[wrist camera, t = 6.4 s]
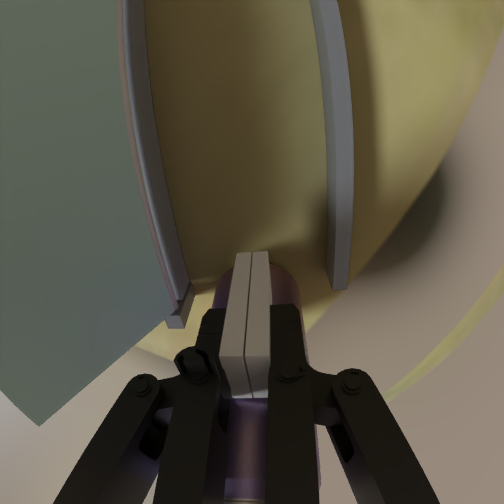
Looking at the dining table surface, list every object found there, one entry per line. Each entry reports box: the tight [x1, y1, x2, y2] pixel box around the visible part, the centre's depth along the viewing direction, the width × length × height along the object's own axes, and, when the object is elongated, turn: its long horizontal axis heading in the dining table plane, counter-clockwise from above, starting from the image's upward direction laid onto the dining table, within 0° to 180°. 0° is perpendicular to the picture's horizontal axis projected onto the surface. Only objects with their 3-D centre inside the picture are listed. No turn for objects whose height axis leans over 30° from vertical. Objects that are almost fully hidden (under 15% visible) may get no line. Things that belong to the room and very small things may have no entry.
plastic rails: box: [123, 0, 354, 329], centre depth 12 cm, size 27×12×4 cm, turn 6°
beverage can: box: [212, 263, 321, 504], centre depth 13 cm, size 6×6×15 cm
